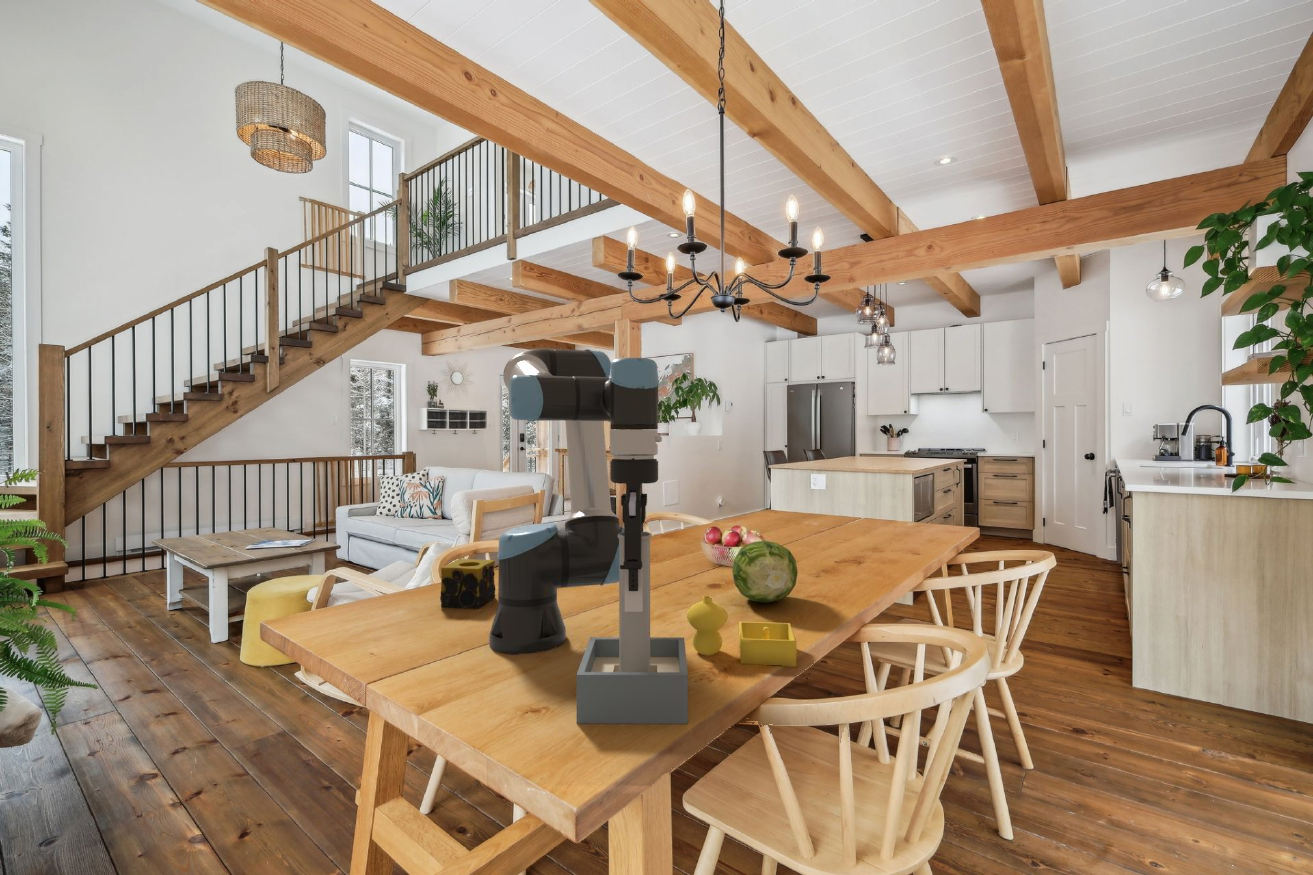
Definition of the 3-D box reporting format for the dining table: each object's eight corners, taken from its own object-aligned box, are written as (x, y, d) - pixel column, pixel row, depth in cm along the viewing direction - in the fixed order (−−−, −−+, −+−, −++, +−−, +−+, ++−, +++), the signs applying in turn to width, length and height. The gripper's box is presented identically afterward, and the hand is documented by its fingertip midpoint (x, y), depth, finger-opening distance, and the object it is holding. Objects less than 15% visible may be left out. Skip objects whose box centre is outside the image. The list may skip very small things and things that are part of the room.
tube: (653, 699, 91) (653, 536, 91) (618, 701, 91) (618, 537, 91) (650, 685, 97) (650, 530, 96) (617, 686, 96) (617, 531, 96)
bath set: (790, 646, 117) (789, 592, 117) (796, 666, 107) (796, 607, 107) (688, 642, 120) (688, 589, 120) (685, 662, 109) (684, 603, 109)
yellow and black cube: (459, 597, 154) (458, 558, 154) (496, 598, 153) (496, 559, 152) (439, 608, 144) (439, 567, 144) (478, 610, 142) (478, 568, 142)
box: (576, 723, 86) (576, 674, 86) (590, 678, 102) (590, 637, 102) (687, 724, 85) (687, 675, 85) (684, 678, 101) (684, 637, 101)
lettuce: (738, 618, 135) (738, 551, 135) (727, 593, 156) (727, 535, 156) (809, 617, 135) (809, 550, 135) (789, 593, 156) (789, 535, 156)
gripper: (657, 459, 85) (657, 623, 85) (658, 455, 102) (659, 591, 103) (604, 459, 85) (605, 623, 85) (615, 455, 103) (615, 591, 103)
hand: (634, 605), depth 94 cm, fingers closed on tube, 5 cm apart
